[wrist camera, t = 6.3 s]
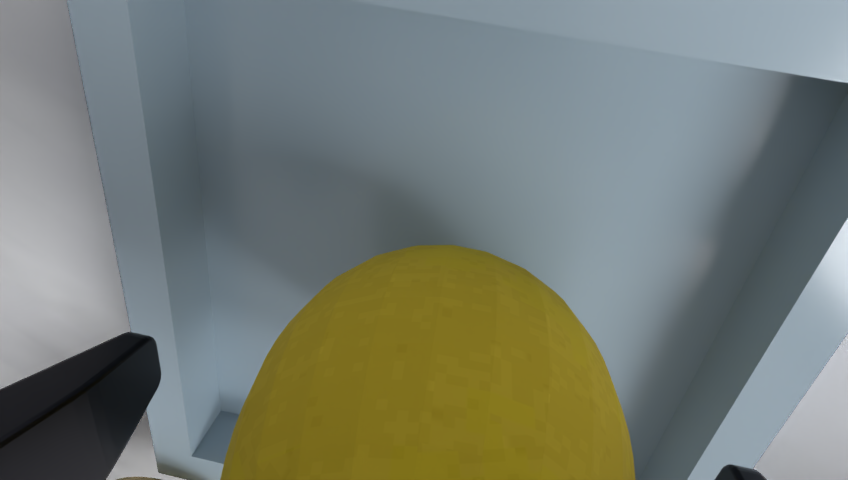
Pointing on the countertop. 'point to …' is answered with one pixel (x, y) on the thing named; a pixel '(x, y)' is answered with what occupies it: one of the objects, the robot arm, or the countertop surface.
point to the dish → (485, 188)
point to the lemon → (432, 381)
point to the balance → (138, 478)
